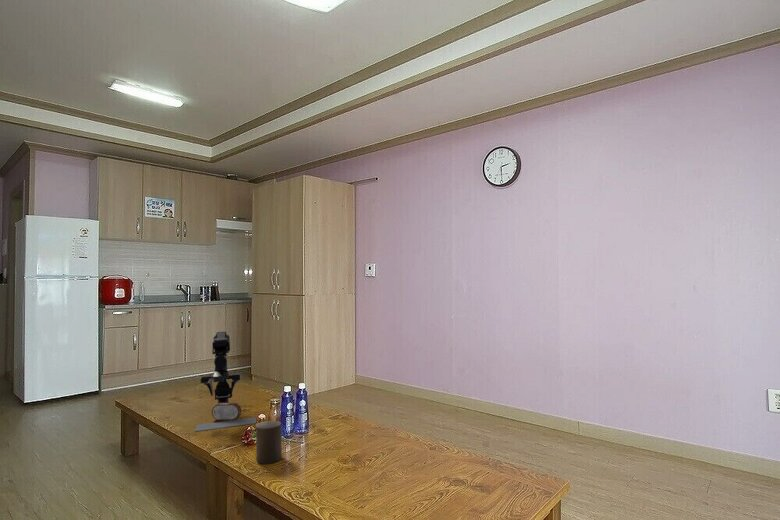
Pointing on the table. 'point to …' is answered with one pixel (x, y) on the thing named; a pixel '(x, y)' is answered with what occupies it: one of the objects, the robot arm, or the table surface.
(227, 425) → the mat
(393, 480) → the table surface
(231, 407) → the tin
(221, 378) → the robot arm
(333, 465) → the table surface
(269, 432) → the pillar candle
